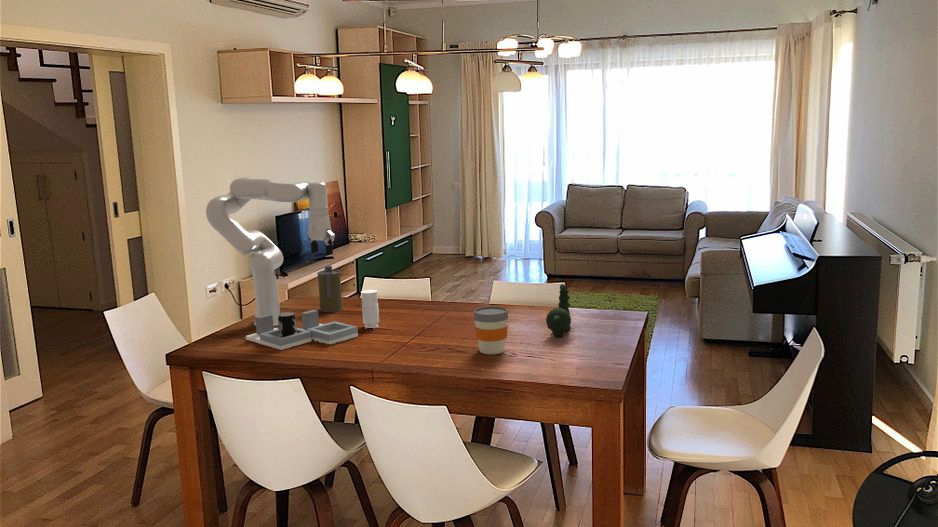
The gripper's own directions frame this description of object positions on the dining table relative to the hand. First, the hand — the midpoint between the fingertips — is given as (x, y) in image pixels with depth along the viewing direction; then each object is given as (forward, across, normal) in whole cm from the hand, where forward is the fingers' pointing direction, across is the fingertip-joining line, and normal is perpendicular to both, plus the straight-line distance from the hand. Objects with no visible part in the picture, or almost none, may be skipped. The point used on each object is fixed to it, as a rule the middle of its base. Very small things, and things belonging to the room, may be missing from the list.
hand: (322, 253), depth 318 cm
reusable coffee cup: (+31, +81, +12) cm, 87 cm away
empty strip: (+30, +14, -12) cm, 35 cm away
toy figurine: (+31, +88, +45) cm, 103 cm away
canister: (+31, -19, +17) cm, 40 cm away
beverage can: (+31, +11, -27) cm, 42 cm away
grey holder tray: (+30, +4, -27) cm, 41 cm away
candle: (+31, +19, +8) cm, 37 cm away
